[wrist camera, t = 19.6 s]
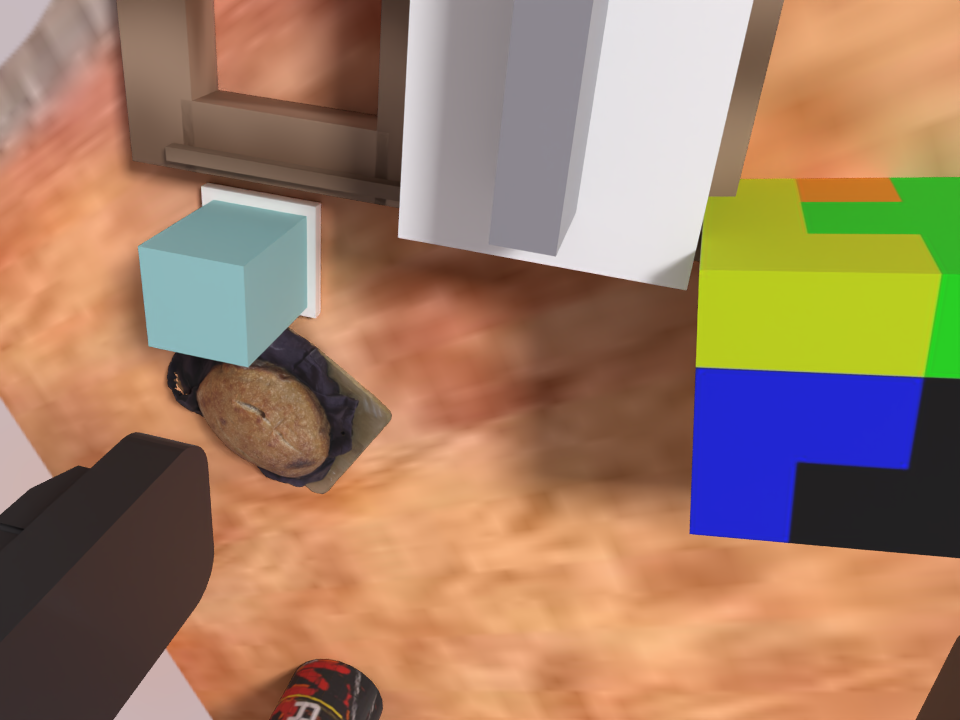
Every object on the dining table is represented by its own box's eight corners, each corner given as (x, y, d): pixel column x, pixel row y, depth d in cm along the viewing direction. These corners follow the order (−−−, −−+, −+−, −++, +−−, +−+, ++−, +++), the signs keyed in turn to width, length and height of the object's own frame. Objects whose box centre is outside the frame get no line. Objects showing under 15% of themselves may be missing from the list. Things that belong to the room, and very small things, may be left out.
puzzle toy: (698, 394, 40) (689, 534, 31) (706, 176, 35) (699, 269, 27) (942, 406, 37) (1005, 562, 29) (985, 173, 33) (1075, 276, 24)
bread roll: (406, 404, 44) (383, 444, 41) (321, 497, 48) (293, 540, 45) (235, 267, 43) (197, 298, 40) (162, 375, 47) (122, 411, 44)
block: (219, 289, 42) (148, 346, 37) (213, 199, 40) (137, 246, 35) (307, 307, 41) (248, 367, 36) (306, 216, 39) (243, 266, 34)
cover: (470, -227, 28) (372, -268, 20) (789, -197, 27) (816, -230, 19) (439, 192, 35) (356, 281, 27) (691, 236, 34) (681, 344, 26)
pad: (207, 182, 40) (201, 186, 40) (321, 202, 39) (315, 207, 39) (214, 291, 43) (208, 296, 42) (320, 313, 42) (315, 318, 42)
